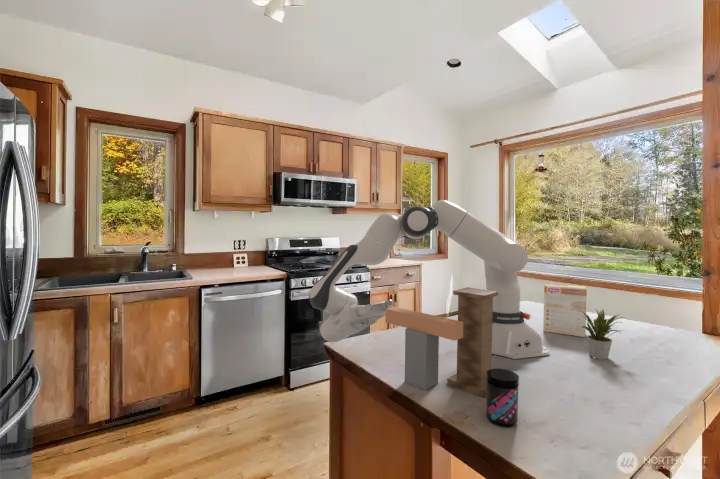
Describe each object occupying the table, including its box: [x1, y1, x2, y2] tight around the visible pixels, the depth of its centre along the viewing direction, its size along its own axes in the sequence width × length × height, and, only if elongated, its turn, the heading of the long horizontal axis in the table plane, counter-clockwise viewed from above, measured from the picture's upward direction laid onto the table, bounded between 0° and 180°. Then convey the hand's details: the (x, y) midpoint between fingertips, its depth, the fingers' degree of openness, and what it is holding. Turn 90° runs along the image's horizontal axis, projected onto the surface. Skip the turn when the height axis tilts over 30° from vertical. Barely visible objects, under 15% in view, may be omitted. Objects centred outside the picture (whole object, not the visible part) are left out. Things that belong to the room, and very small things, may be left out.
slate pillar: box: [404, 328, 440, 391], centre depth 98 cm, size 7×6×15 cm
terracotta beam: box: [385, 306, 463, 342], centre depth 98 cm, size 23×4×4 cm, turn 45°
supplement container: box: [485, 368, 520, 428], centre depth 79 cm, size 7×7×10 cm
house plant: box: [581, 308, 625, 360], centre depth 118 cm, size 14×14×16 cm
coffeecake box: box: [542, 283, 587, 338], centre depth 146 cm, size 15×7×20 cm, turn 58°
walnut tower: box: [446, 287, 498, 398], centre depth 96 cm, size 11×9×26 cm
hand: (381, 304), depth 108 cm, fingers open, 8 cm apart
